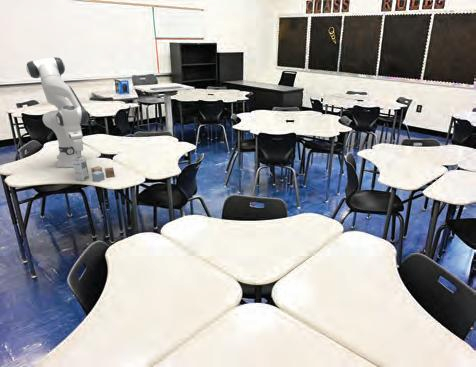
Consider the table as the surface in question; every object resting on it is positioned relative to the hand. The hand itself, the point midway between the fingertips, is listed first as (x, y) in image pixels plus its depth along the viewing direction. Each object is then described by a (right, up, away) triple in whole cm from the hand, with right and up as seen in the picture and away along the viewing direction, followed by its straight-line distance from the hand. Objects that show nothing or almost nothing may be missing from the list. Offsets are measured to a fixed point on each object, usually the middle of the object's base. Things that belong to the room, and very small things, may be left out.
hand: (78, 155), depth 217 cm
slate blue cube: (+11, -15, +4) cm, 19 cm away
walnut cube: (+16, -13, +10) cm, 23 cm away
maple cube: (+6, -12, +13) cm, 19 cm away
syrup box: (0, -15, +6) cm, 16 cm away
